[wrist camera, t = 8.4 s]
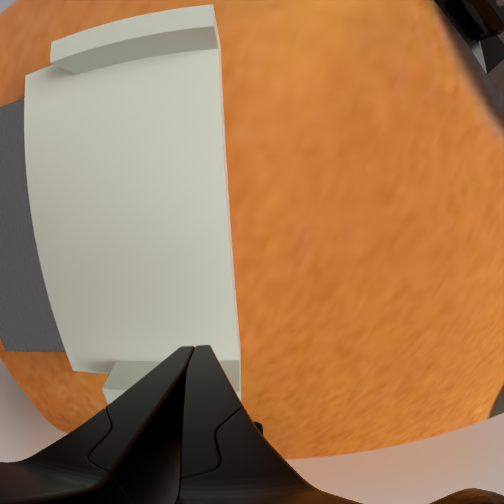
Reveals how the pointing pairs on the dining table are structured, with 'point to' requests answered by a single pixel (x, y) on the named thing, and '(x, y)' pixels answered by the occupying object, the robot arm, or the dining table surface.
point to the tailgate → (20, 250)
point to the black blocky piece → (478, 27)
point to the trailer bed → (134, 194)
